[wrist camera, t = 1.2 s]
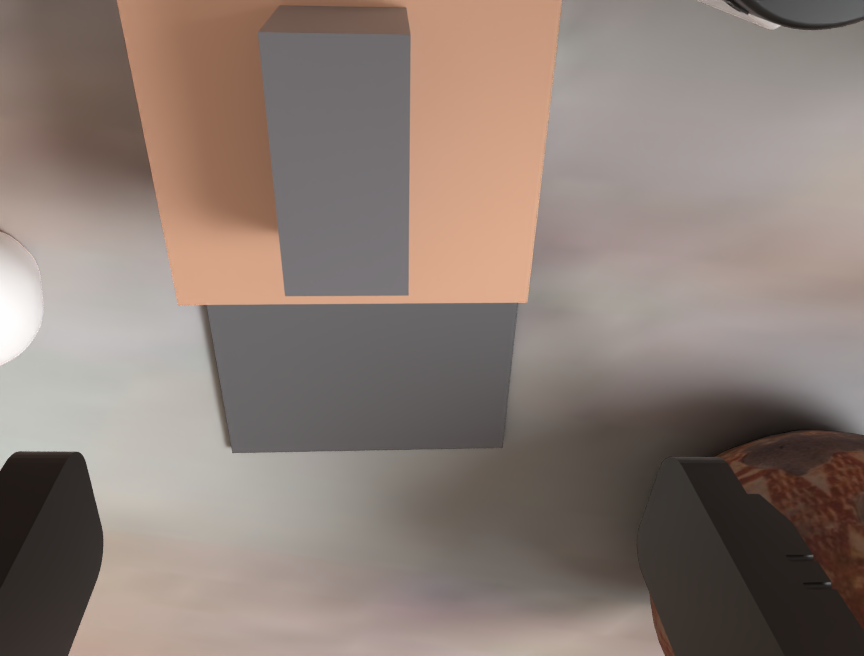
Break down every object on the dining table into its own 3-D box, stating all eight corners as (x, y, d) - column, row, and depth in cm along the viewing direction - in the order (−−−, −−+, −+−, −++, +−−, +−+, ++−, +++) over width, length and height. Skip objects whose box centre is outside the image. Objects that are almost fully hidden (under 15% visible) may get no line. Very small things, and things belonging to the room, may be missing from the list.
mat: (523, 229, 37) (525, 233, 36) (501, 442, 45) (502, 447, 45) (196, 229, 36) (193, 233, 35) (233, 447, 44) (232, 452, 44)
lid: (557, -101, 23) (614, -93, 17) (517, 274, 31) (548, 367, 25) (120, -113, 22) (27, -109, 16) (192, 275, 30) (145, 372, 24)
